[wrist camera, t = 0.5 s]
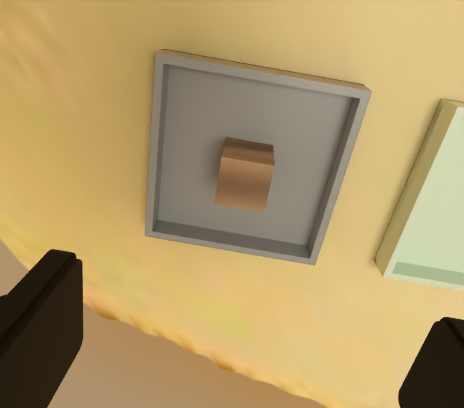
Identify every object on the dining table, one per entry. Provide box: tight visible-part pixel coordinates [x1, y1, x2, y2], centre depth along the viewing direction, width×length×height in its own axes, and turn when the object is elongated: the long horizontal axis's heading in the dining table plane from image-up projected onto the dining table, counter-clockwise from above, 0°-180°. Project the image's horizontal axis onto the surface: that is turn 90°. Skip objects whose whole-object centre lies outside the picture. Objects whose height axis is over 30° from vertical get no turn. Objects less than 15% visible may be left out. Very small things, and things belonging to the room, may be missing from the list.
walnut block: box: [214, 137, 275, 212], centre depth 38 cm, size 5×5×6 cm
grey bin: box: [145, 49, 372, 265], centre depth 40 cm, size 20×20×4 cm
